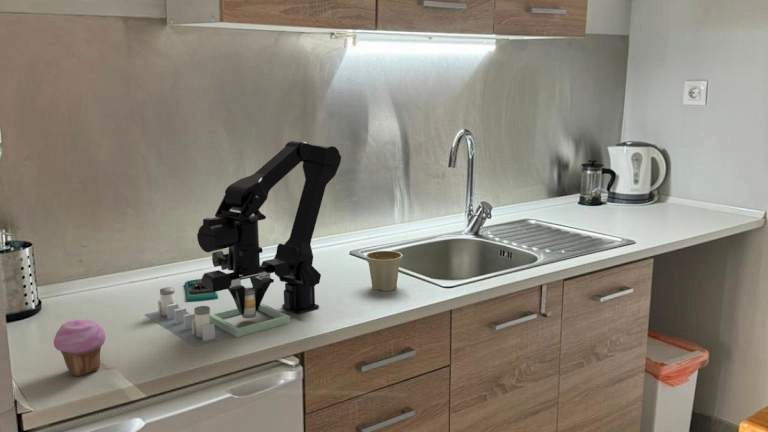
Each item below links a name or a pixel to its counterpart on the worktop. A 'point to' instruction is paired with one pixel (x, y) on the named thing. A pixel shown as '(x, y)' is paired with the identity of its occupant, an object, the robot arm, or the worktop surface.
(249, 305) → the fuse marked
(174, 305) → the fuse panel
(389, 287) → the flower pot
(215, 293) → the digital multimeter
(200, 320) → the fuse right
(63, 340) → the cupcake
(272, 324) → the tray
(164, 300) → the fuse left
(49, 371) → the worktop surface
